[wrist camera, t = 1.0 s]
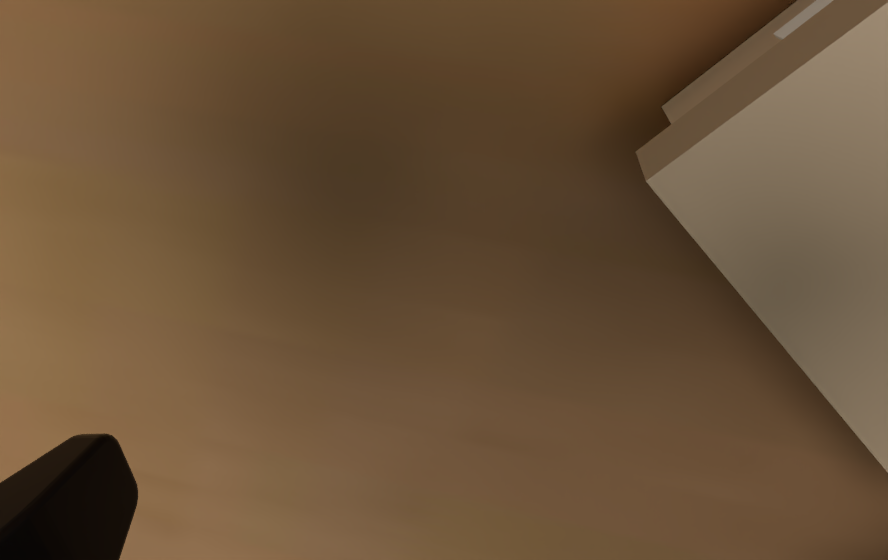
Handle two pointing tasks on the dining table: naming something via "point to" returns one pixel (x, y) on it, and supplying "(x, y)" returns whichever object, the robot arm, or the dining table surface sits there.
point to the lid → (800, 200)
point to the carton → (742, 56)
